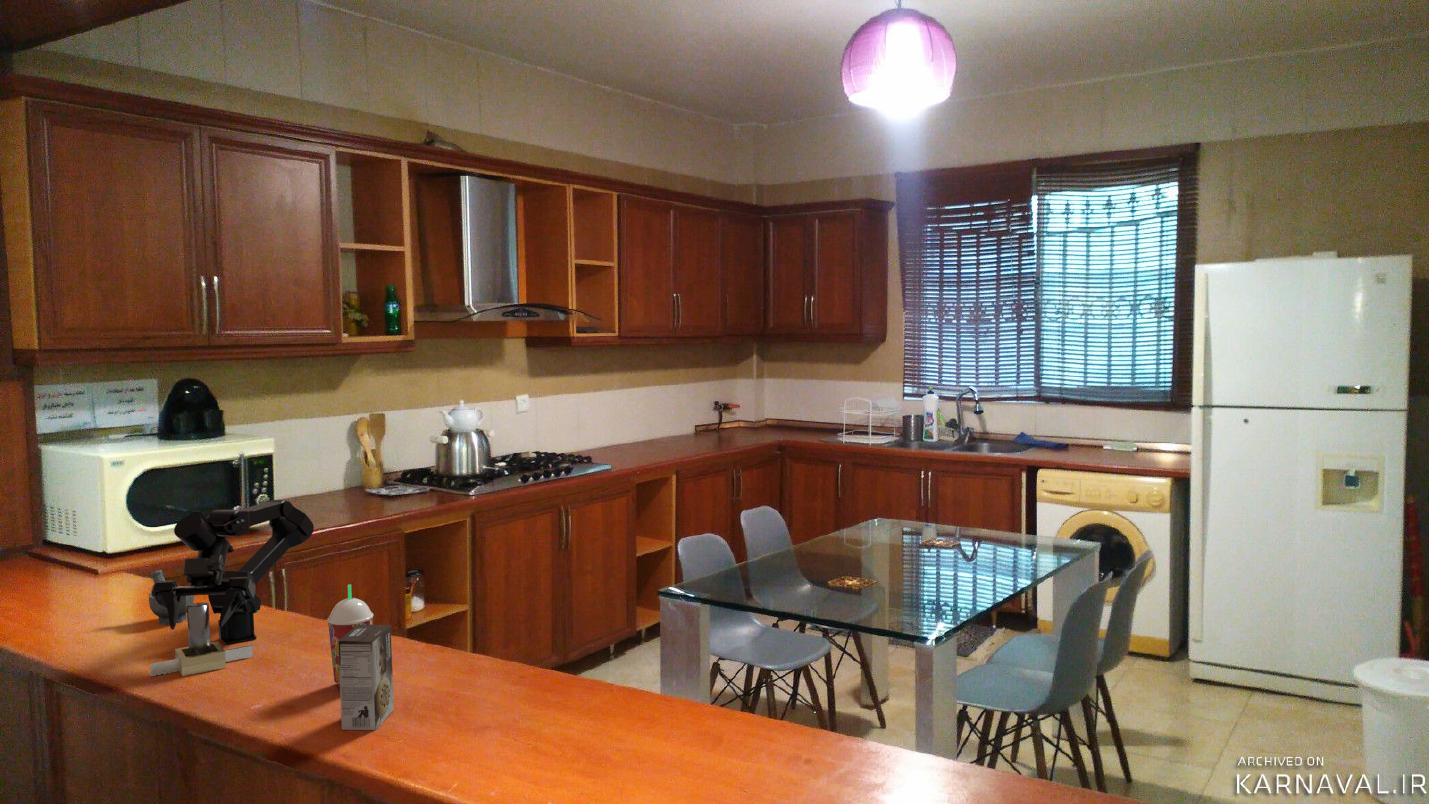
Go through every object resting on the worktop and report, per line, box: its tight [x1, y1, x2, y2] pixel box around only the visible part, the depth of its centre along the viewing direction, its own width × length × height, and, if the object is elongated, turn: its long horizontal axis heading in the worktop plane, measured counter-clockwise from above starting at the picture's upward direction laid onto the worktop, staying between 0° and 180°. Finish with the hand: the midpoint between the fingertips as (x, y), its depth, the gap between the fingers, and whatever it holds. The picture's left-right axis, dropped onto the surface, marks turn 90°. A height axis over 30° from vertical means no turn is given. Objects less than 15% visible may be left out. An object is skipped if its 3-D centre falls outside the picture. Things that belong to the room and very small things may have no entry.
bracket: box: [149, 641, 254, 677], centre depth 202 cm, size 19×8×4 cm, turn 127°
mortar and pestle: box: [148, 569, 195, 626], centre depth 233 cm, size 11×9×12 cm
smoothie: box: [327, 584, 374, 689], centre depth 190 cm, size 8×8×20 cm
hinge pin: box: [186, 602, 211, 657], centre depth 201 cm, size 4×4×13 cm
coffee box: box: [338, 624, 395, 731], centre depth 173 cm, size 9×6×16 cm
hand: (196, 627), depth 200 cm, fingers open, 9 cm apart
